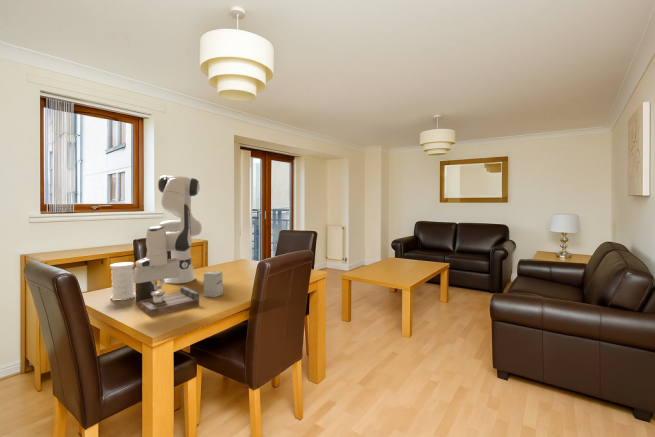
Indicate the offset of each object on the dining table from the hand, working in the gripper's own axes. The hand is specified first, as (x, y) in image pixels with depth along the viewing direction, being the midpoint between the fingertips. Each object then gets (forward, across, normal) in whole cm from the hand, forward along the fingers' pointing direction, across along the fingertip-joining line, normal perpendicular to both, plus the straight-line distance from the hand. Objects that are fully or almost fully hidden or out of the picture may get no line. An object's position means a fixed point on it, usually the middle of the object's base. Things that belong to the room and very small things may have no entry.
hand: (157, 289), depth 159 cm
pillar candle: (+10, 0, -17) cm, 20 cm away
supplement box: (+10, -29, -2) cm, 31 cm away
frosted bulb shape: (+10, 0, 0) cm, 10 cm away
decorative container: (+10, +7, -32) cm, 34 cm away
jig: (+10, -5, 0) cm, 11 cm away
